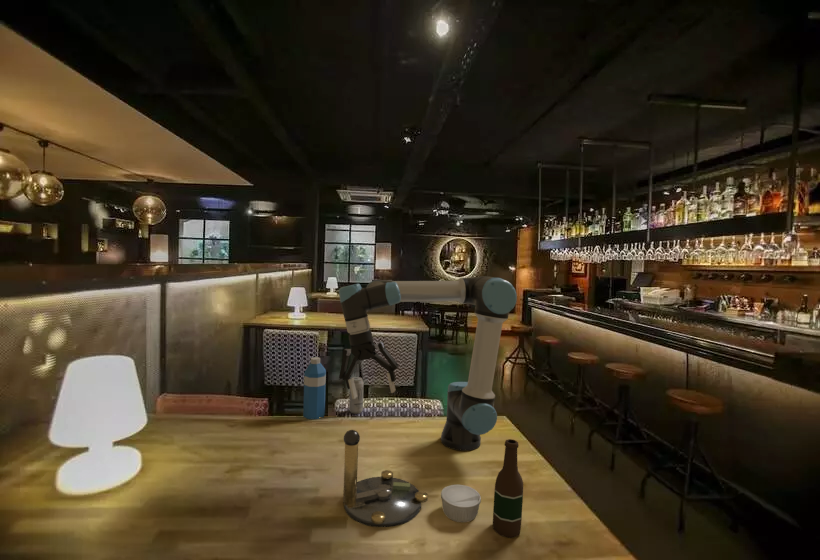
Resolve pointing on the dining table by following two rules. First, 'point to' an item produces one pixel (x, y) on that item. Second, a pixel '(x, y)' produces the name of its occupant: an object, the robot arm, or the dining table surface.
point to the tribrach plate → (387, 502)
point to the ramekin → (460, 502)
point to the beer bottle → (508, 495)
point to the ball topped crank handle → (350, 475)
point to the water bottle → (314, 390)
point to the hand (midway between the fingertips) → (374, 394)
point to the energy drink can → (357, 403)
